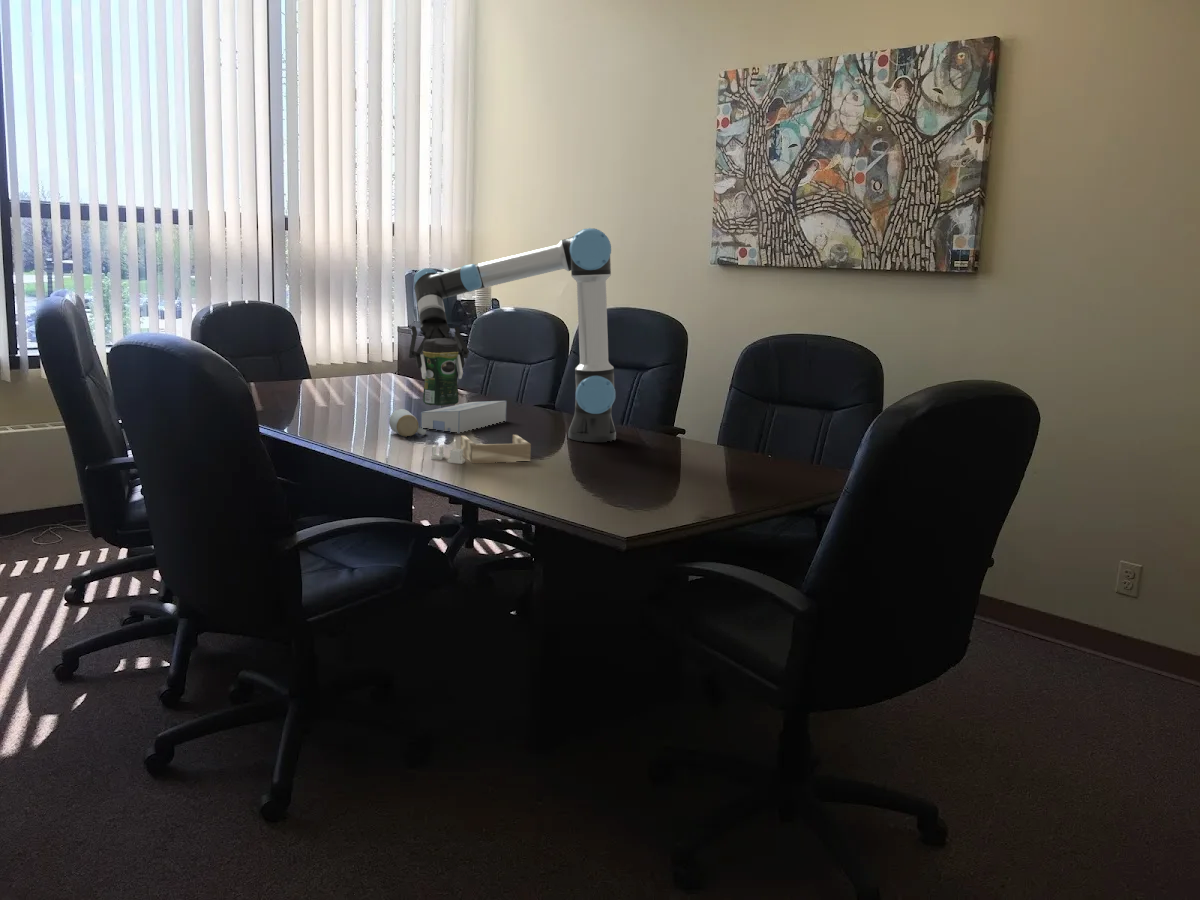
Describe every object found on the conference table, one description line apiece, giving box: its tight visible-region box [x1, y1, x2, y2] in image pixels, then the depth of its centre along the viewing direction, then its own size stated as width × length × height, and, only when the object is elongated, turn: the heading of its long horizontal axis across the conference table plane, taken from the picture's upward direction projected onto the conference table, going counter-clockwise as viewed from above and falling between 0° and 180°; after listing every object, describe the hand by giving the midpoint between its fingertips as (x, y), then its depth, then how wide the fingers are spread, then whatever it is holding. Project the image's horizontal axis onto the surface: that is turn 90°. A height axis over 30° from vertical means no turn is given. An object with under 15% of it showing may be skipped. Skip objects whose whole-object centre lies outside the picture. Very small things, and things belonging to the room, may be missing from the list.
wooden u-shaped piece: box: [460, 434, 532, 464], centre depth 270 cm, size 15×16×5 cm
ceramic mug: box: [388, 408, 427, 438], centre depth 298 cm, size 11×8×8 cm
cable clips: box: [430, 444, 466, 465], centre depth 264 cm, size 5×12×3 cm, turn 57°
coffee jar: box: [422, 338, 460, 407], centre depth 270 cm, size 10×8×19 cm
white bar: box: [420, 400, 508, 434], centre depth 321 cm, size 30×14×8 cm, turn 156°
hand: (442, 375), depth 267 cm, fingers closed on coffee jar, 9 cm apart
